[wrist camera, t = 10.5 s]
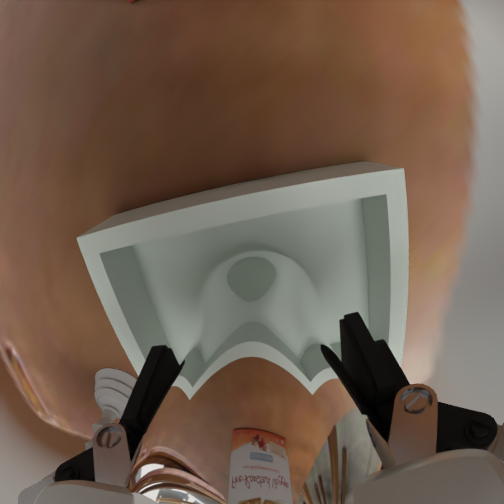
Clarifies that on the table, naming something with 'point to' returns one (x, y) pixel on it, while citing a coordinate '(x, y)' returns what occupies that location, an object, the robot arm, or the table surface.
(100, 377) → the chalice
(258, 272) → the beer glass
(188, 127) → the table surface
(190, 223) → the bin
